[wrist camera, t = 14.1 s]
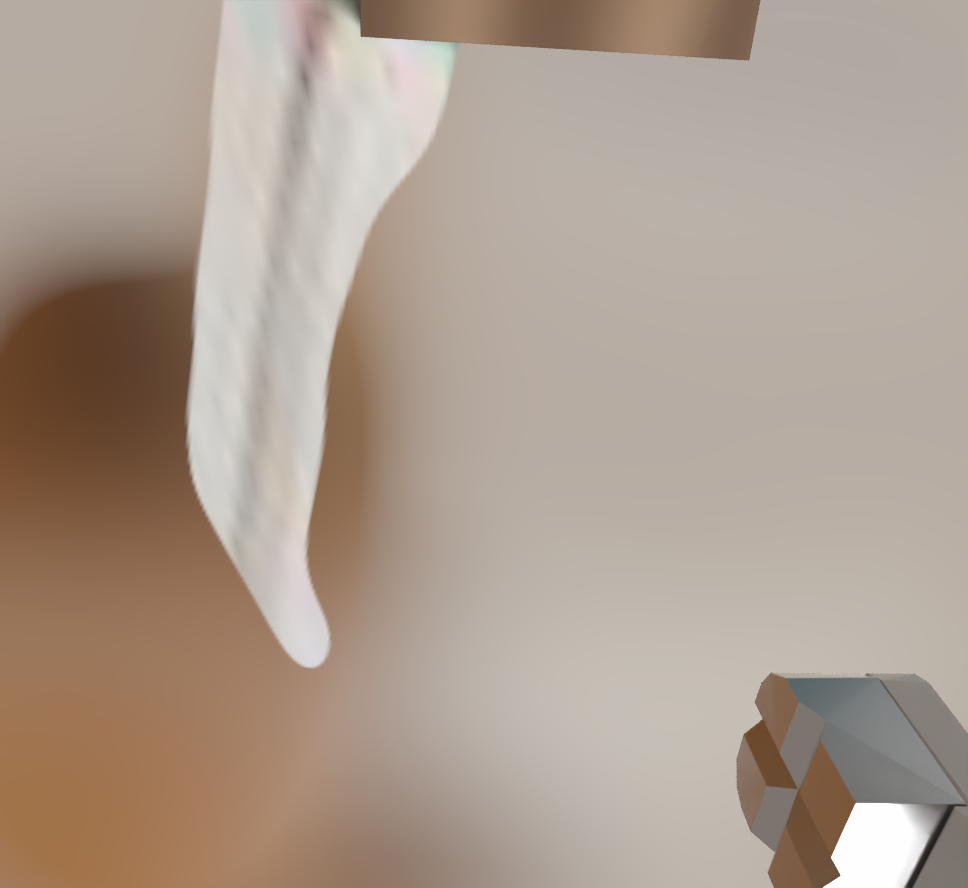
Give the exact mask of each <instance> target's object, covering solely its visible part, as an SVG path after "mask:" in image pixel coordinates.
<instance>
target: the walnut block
mask: <svg viewBox="0 0 968 888" xmlns="http://www.w3.org/2000/svg"><path fill="white" fill-rule="evenodd" d="M759 5H760V0H360V18H361V37H375V38H392V39H408V40H424V41H441V42H457V43H474V44H490V45H506V46H522V47H539V48H555V49H572V50H589V51H604V52H620V53H638V54H654V55H670V56H686V57H702V58H719V59H735V60H749V59H750V53H751V48H752V42H753V37H754V31H755V26H756V21H757V15H758V10H759Z"/></svg>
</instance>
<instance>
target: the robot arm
mask: <svg viewBox="0 0 968 888" xmlns="http://www.w3.org/2000/svg"><path fill="white" fill-rule="evenodd" d="M755 704H756V706H757V708H758V710H759V712H760V714H761V716H762V718H763V719H762V720H761V721H760V722H759V723H758V724H756V725H755V726H754V727H753V728H751V729H750V730H749V731H748V732H746V733H745V734H744V735H743V739H742V742H741V746H740V749H739V753H738V757H737V790H738V794H739V798H740V803H741V808H742V811H743V813H744V816H745V818H746V821H747V823H748V826H749V828H750V831H751V832H752V833H753V834H754V835H755V836H757V837H758V838H759V839H760V840H761V841H762V842H764V843H765V844H766V845H767V846H768V847H769V848H771V849H772V850H773V851H774V855H773V858H772V861H771V864H770V867H769V870H768V874H769V877H770V879H771V882H772V884H773V886H774V888H968V733H967V732H966V730H965V729H964V728H963V726H962V725H961V724H960V723H959V721H958V720H957V719H956V717H955V716H954V715H953V713H952V712H951V711H950V710H949V708H948V707H947V706H946V704H945V703H944V702H943V701H942V699H941V698H940V697H939V695H938V694H937V693H936V691H935V690H934V689H933V688H932V686H931V685H930V684H929V683H928V682H927V681H925V680H924V679H922V678H921V677H919V676H917V675H916V674H866V675H861V674H822V673H821V674H820V673H818V674H817V673H770V674H769V676H768V677H767V678H766V679H765V680H764V681H763V682H762V683H761V686H760V689H759V691H758V694H757V697H756V700H755Z"/></svg>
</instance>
